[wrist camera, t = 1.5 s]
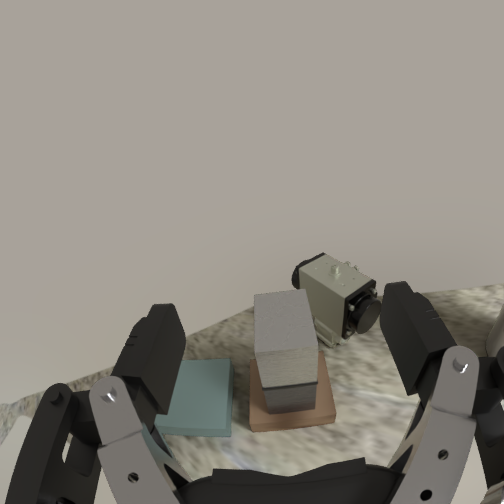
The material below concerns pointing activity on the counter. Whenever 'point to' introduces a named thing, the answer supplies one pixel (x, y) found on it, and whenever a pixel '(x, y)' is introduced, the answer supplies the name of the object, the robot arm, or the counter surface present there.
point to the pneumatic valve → (337, 298)
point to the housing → (286, 350)
